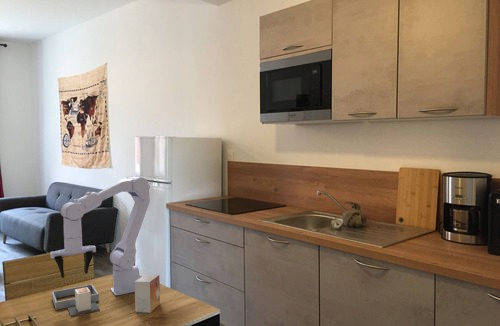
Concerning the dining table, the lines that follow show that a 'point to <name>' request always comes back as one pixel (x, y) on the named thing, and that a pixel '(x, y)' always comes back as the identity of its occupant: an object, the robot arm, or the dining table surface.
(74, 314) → the mat
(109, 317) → the dining table surface
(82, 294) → the block
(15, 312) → the dining table surface
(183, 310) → the dining table surface
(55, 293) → the grey rectangular frame
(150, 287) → the small box
